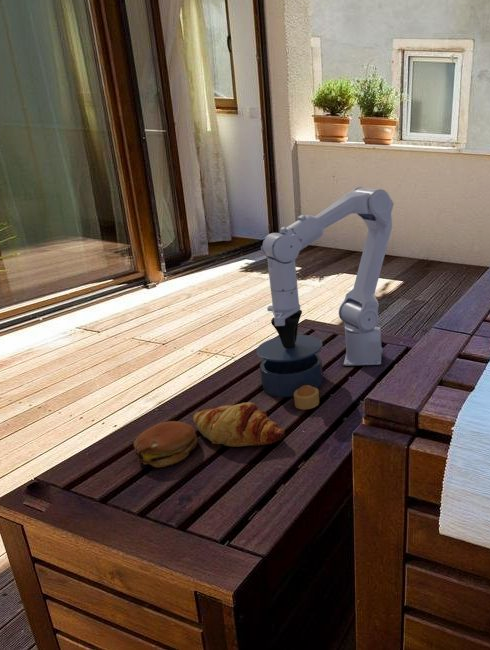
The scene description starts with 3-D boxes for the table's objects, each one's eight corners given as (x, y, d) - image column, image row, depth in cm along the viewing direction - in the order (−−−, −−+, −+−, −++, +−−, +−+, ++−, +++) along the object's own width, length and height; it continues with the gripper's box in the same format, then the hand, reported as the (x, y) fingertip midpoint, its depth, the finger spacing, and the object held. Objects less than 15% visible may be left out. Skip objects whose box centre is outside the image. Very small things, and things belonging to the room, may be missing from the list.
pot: (326, 369, 118) (324, 349, 117) (317, 395, 106) (316, 374, 104) (271, 370, 117) (268, 350, 116) (255, 397, 105) (252, 376, 103)
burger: (198, 432, 92) (194, 411, 90) (197, 460, 84) (193, 437, 82) (139, 445, 88) (134, 423, 86) (133, 475, 80) (127, 452, 78)
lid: (326, 337, 117) (325, 318, 115) (317, 363, 103) (315, 342, 101) (266, 339, 115) (264, 319, 114) (249, 365, 102) (246, 343, 100)
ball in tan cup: (321, 397, 105) (319, 379, 104) (317, 409, 100) (316, 391, 99) (297, 397, 105) (295, 380, 103) (292, 410, 100) (290, 392, 98)
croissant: (187, 447, 93) (164, 426, 87) (216, 404, 99) (197, 382, 94) (279, 467, 86) (260, 446, 81) (303, 420, 93) (288, 397, 87)
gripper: (273, 279, 111) (279, 332, 115) (256, 298, 97) (264, 358, 101) (304, 278, 111) (308, 332, 116) (291, 297, 98) (297, 357, 102)
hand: (289, 344), depth 109 cm, fingers closed on lid, 2 cm apart
